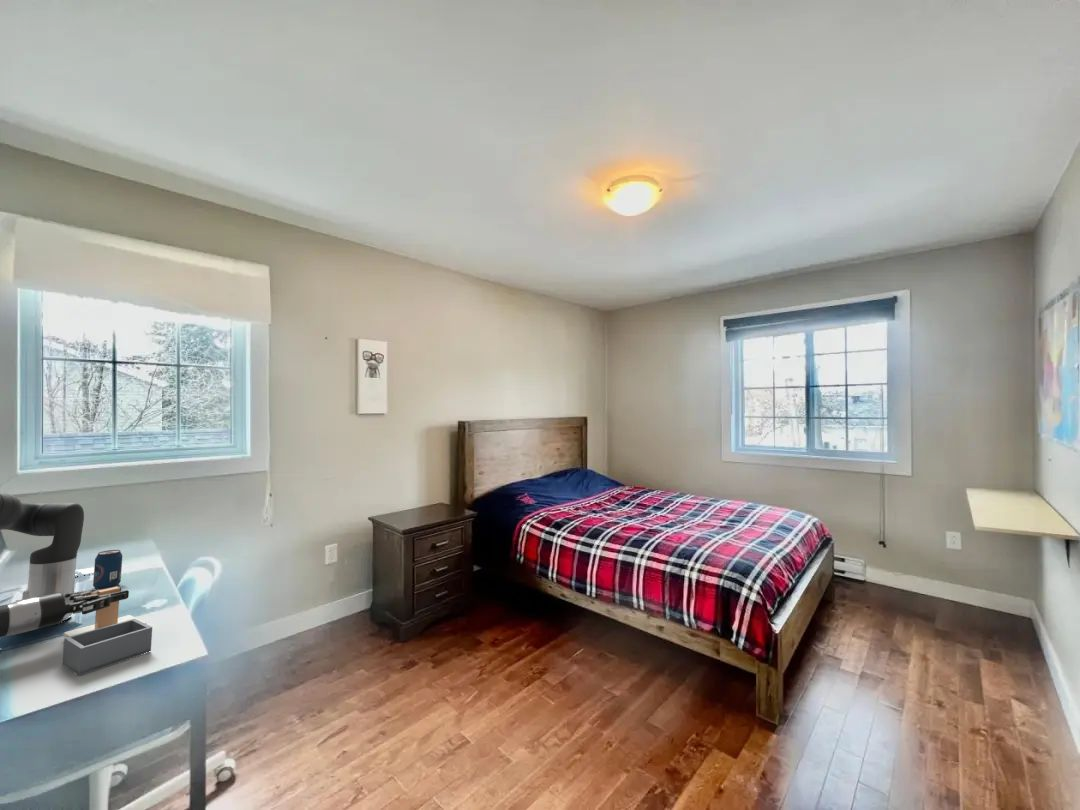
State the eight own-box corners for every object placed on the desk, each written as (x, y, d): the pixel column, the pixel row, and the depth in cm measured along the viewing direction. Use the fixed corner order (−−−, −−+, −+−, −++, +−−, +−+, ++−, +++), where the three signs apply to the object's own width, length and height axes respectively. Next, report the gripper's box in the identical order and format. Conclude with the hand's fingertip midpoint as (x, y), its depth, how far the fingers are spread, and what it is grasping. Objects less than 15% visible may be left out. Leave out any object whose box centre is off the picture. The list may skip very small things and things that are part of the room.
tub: (78, 676, 101) (81, 648, 101) (62, 664, 106) (64, 638, 106) (150, 651, 112) (152, 627, 113) (132, 642, 117) (134, 618, 117)
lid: (78, 651, 112) (82, 601, 113) (62, 641, 117) (66, 593, 118) (145, 630, 124) (148, 585, 125) (128, 622, 129) (131, 579, 130)
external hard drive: (56, 577, 167) (102, 569, 177) (62, 581, 162) (108, 573, 173) (56, 573, 167) (102, 565, 177) (62, 577, 162) (108, 568, 173)
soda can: (88, 588, 155) (90, 553, 155) (113, 582, 161) (115, 548, 162) (99, 591, 152) (102, 555, 153) (124, 585, 158) (127, 550, 159)
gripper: (45, 603, 106) (136, 582, 121) (25, 592, 113) (114, 574, 128) (42, 636, 106) (134, 611, 121) (22, 623, 113) (112, 601, 128)
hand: (123, 592), depth 124 cm, fingers open, 4 cm apart
